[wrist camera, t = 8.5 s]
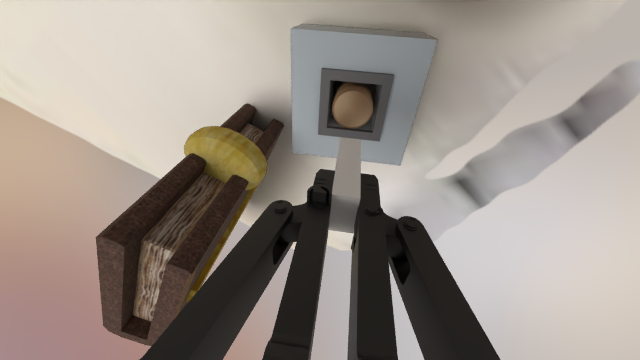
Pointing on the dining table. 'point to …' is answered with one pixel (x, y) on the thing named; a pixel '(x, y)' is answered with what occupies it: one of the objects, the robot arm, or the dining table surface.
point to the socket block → (361, 67)
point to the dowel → (352, 104)
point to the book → (180, 227)
